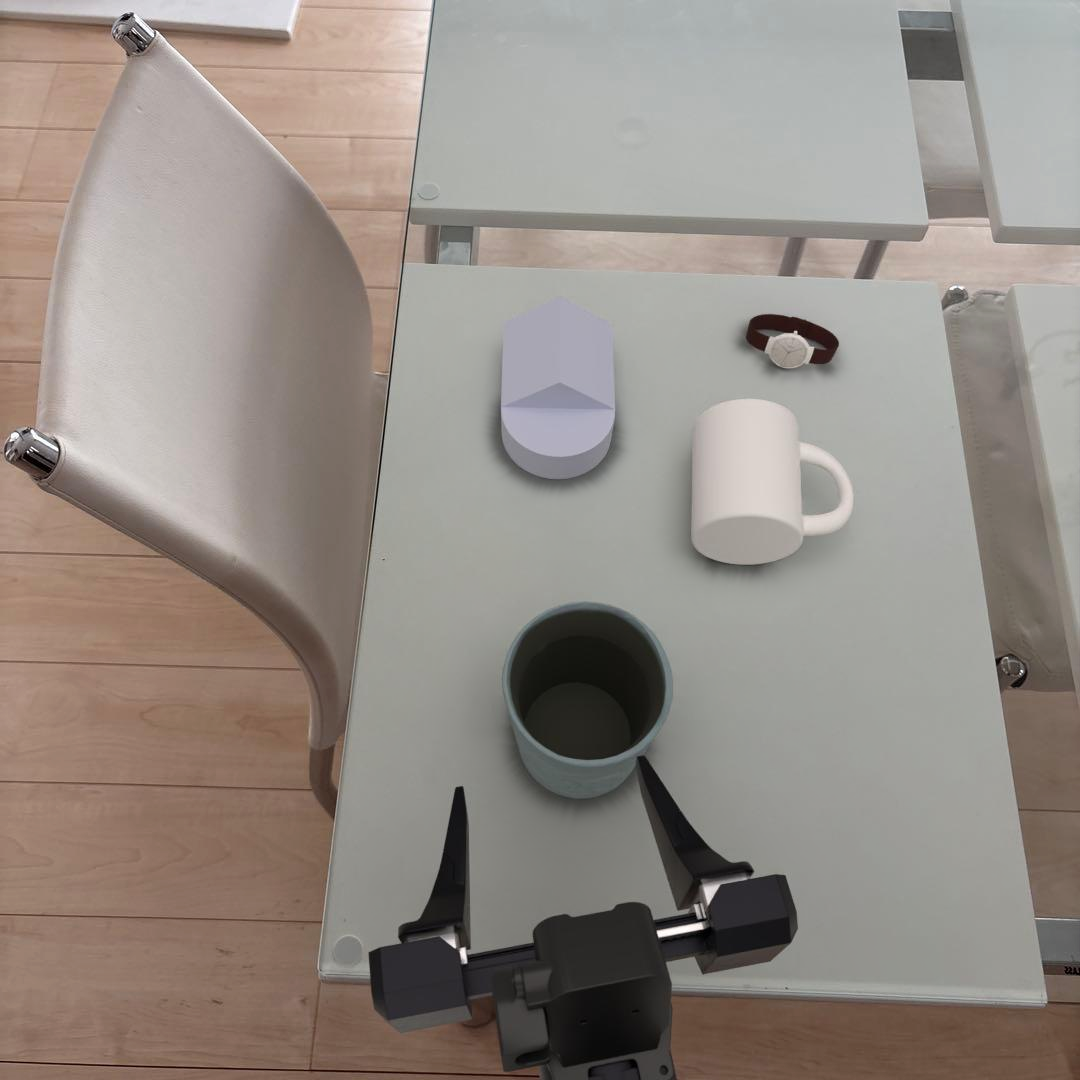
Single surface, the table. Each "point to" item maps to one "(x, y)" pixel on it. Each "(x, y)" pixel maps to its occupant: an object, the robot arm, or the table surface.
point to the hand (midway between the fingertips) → (550, 773)
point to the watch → (791, 340)
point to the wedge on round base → (557, 389)
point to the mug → (756, 484)
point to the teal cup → (585, 696)
